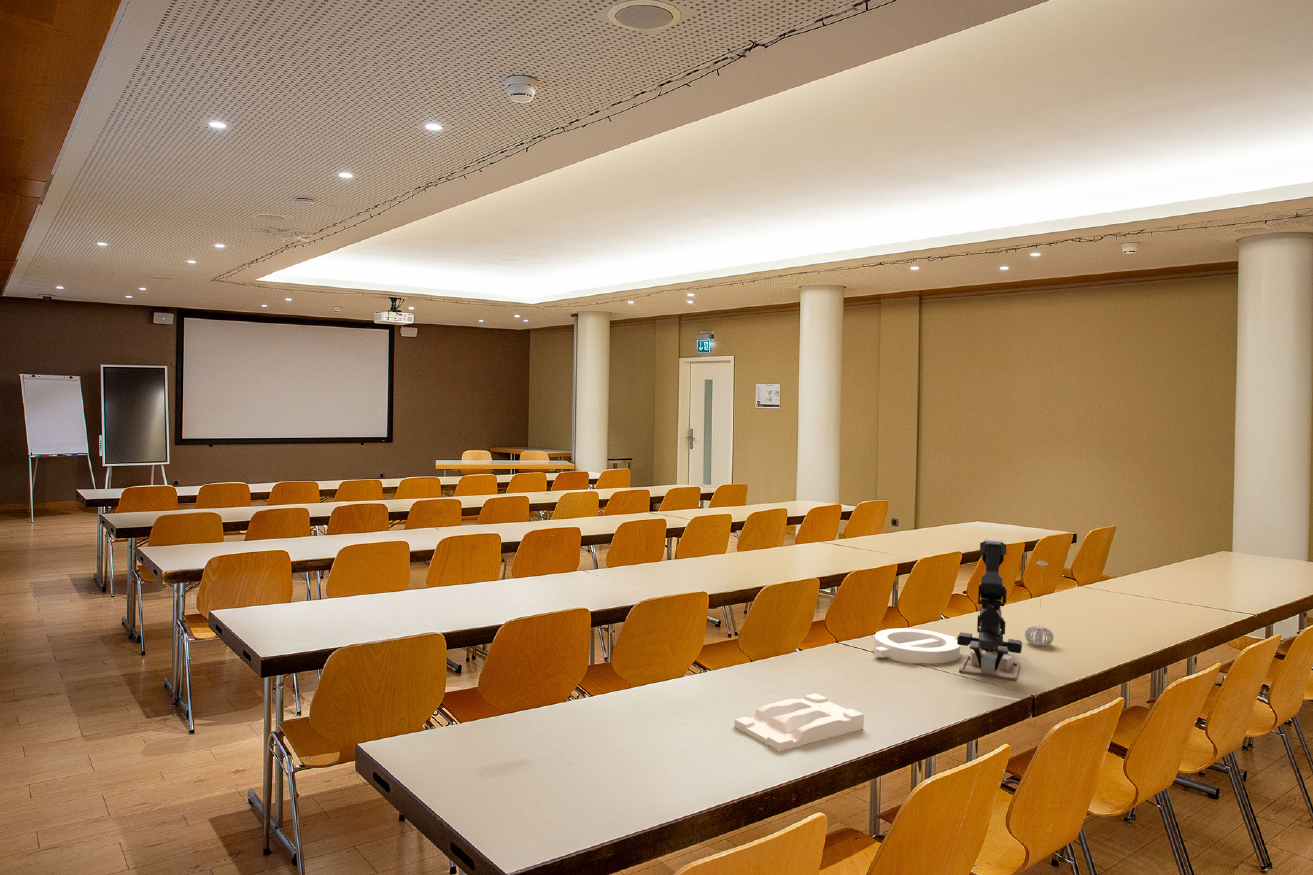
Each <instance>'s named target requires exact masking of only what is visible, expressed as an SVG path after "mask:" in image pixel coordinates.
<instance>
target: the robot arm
mask: <svg viewBox="0 0 1313 875" xmlns="http://www.w3.org/2000/svg"><path fill="white" fill-rule="evenodd" d="M1007 545H1008V544H1006V543H1004V541H1003V540H995V539H983V541H982V542H980V543H979V553H980V554H981V559H982V561H983V563H984V565H985V573H984V575H982V576H981V580H980V581H981V582H980V583H978V595H977V596H978V597H977V605H980V606H981V607H980V609H979V614H977V623H976V624H977V625H976V626H977V628H976V633H978V637H975V636H973V633H970V632H969V633H968V632H963V631H962V632H959V634H958V636H957V637H956V638H957V644H958V645H960V646H965V647H968V646H969V645H970V646H969V650H970V649H973V650H974V652H975V654H976V656H977V659H978V662H979V666H980V669H981V657H982V650H985V652H992V653H997V655H996V657H997V659H996V665H995V671H997V668H998V665H999V663H1000V660H1001V658H1002V657H1003V655H1008V654H1009V653H1013V654H1021V653H1022V651H1023V642H1022V641H1021V640H1019V639H1014V638H1008V640H1007V641H1004V635H1006V621H1005V619H1004V617H1002V609H1001V608H1002V607H1005V604H1007V595H1008V594H1007V591H1008V590H1007V589H1006V586H1005V585H1003V577H1001V576H1000V566H1001V565H1002V564H1003V562H1004V560H1005V556H1007V550H1008V546H1007Z"/></svg>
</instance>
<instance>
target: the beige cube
mask: <svg viewBox="0 0 1313 875" xmlns="http://www.w3.org/2000/svg"><path fill="white" fill-rule="evenodd" d="M996 659H997V656H996ZM1013 662H1014V656H1012V655H1008V654H1004V655H1003V657H1002V658H1001V660H1000V663H999V665H998V668H1000V669H1004V670H1008V669H1011V668H1013Z"/></svg>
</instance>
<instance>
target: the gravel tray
mask: <svg viewBox="0 0 1313 875" xmlns="http://www.w3.org/2000/svg"><path fill="white" fill-rule="evenodd" d="M1020 667H1021V663H1019V662H1014V661H1013V668H1011V669H1008V670H1004V669H1000V668H997V671H996V672H995V675H992V674H985V673H981V669H980V666H979V665H972V664H971V662H970V655H965V658H964V659H963V661H962V663H961V665H960V667H959V670H958V673H960V674H967V675H972V676H980V677H986V678H992V679H997V680H998V679H1000V680H1005V681H1012V682H1017V678H1018V675H1019V671H1020Z"/></svg>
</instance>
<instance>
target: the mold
mask: <svg viewBox="0 0 1313 875" xmlns="http://www.w3.org/2000/svg"><path fill="white" fill-rule="evenodd" d="M864 718H865V714H864V713H863V712H860V711H858V710H855V709H853V708H848V709H847V708H845V707H842V706H840V705H838V704H836V703H834V702H831V701H829V699H828V697H826V696H824V695H821V694H819V693H811V694H807V695H804V698H800V699H799V698H798V699H797V698H788V699H783V700H780V701H777V702H773V703H768V704H765V705H762V706H760V707H759V708H757V709H756V710H755V713H754V715H753V716H751V717H749V716H743V717H738V718H735V719H734V726H733V727H734V728H736V729H738V730H740V731H742V732H743V733H745V734H747V735H749V736H751V737H752V738H754V739H756V740H758V741H759V740H760V741H759V742H761V743H763V742H764V743H763V744H765V745H767V746H768V745H770V746H771V747H770V746H769V747H770V748H772V747H774V748H775V749H774V748H773V749H774V750H775V751H777V750H779V751H778V752H782V751H781V750H783V751H787V750H789V749H788V748H791V749H793V748H792V747H795V748H797V747H796V746H798V747H800V746H799V745H802V746H805V745H804V744H806V745H808V744H807V743H810V742H813V743H816V742H815V741H817V742H820V741H819V740H821V739H824V740H828V739H830V738H829V737H832V738H835V736H836V737H839V736H842V735H841V734H843V735H845V734H846V733H847V734H850V733H853V732H852V731H854V732H857V730H858V731H860V729H862V730H864V727H865V726H864V725H865V724H864V723H865V721H864V720H865V719H864ZM849 732H850V733H849ZM838 735H839V736H838ZM827 738H828V739H827ZM821 741H822V740H821ZM810 744H811V743H810ZM786 749H787V750H786Z"/></svg>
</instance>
